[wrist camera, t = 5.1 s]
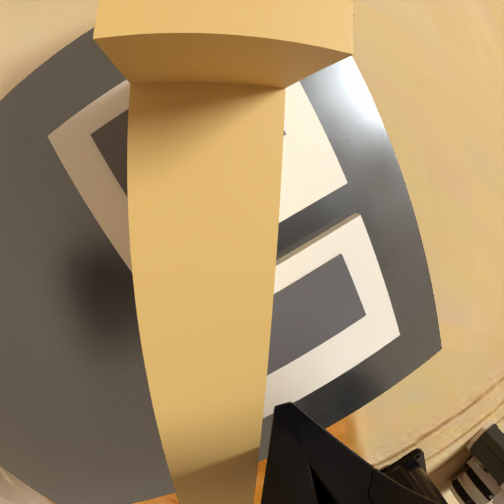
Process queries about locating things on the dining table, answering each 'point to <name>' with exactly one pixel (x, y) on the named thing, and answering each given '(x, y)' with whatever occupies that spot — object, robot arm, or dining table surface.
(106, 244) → the chassis plate
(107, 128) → the label tile
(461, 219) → the dining table surface
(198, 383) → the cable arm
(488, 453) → the camera
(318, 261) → the label tile
